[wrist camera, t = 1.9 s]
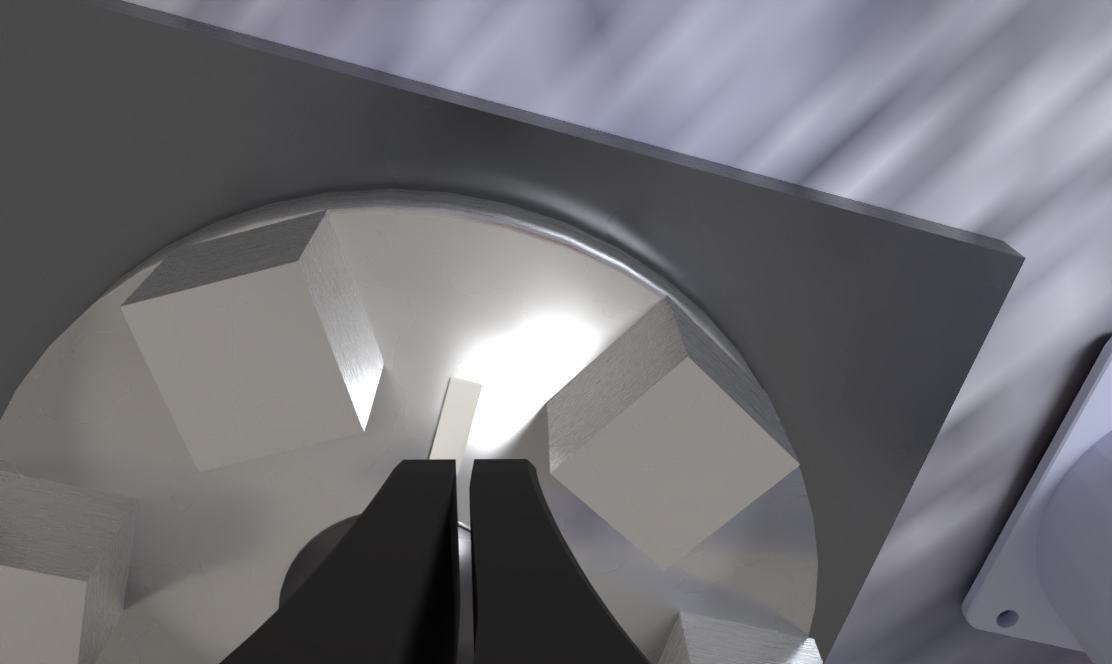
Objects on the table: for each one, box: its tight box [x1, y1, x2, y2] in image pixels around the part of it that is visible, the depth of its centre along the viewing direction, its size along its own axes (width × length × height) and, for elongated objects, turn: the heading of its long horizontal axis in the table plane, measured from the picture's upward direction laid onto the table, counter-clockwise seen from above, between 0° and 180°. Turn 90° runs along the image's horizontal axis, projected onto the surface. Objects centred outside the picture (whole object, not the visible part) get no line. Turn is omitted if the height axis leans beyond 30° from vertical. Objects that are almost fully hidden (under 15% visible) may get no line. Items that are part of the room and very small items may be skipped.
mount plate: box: [0, 0, 1025, 664], centre depth 23 cm, size 20×20×1 cm
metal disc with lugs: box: [0, 189, 823, 664], centre depth 20 cm, size 17×17×4 cm
